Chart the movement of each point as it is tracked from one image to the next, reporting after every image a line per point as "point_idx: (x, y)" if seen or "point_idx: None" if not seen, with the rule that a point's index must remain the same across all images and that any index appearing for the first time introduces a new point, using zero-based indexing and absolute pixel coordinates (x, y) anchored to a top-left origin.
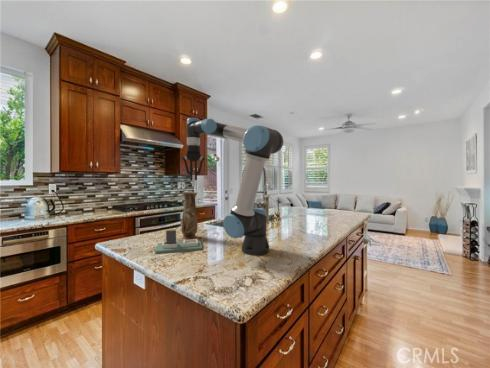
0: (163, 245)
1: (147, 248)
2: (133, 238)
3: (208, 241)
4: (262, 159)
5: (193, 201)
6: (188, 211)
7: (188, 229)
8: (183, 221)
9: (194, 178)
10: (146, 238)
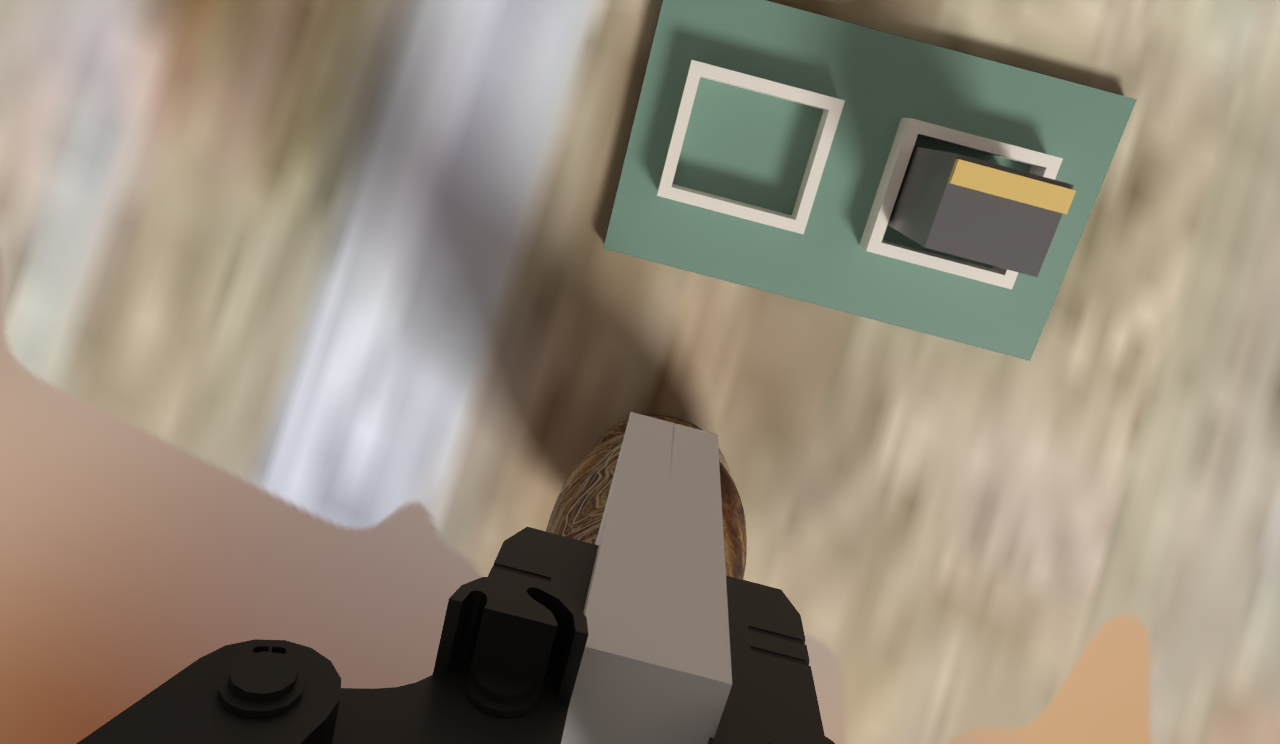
0: (1048, 155)
1: (1142, 305)
2: (1165, 710)
3: (513, 244)
4: None
5: None
6: None
7: None
8: (735, 543)
9: (625, 541)
10: (1054, 652)
